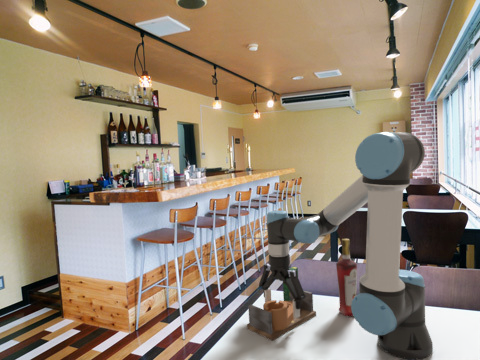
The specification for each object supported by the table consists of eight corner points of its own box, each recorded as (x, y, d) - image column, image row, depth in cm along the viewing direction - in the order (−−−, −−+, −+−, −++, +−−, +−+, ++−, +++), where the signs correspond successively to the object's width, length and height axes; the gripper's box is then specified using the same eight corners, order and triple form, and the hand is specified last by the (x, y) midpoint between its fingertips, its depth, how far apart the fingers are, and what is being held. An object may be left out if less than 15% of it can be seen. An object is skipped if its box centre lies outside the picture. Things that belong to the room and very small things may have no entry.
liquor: (347, 307, 135) (344, 236, 133) (363, 314, 129) (360, 239, 127) (334, 312, 131) (330, 239, 130) (349, 320, 125) (346, 243, 123)
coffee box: (294, 295, 149) (292, 265, 149) (299, 297, 147) (298, 266, 147) (283, 302, 143) (281, 271, 143) (289, 304, 141) (287, 272, 141)
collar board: (316, 315, 130) (315, 293, 130) (271, 340, 114) (270, 315, 114) (291, 306, 139) (290, 285, 139) (247, 328, 123) (245, 305, 123)
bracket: (283, 332, 116) (281, 312, 116) (260, 327, 120) (259, 308, 120) (300, 309, 132) (299, 291, 131) (280, 306, 136) (279, 289, 135)
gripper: (314, 257, 118) (316, 318, 120) (261, 246, 137) (264, 299, 138) (300, 263, 113) (303, 326, 115) (247, 250, 132) (250, 305, 133)
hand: (282, 311), depth 126 cm, fingers open, 13 cm apart
